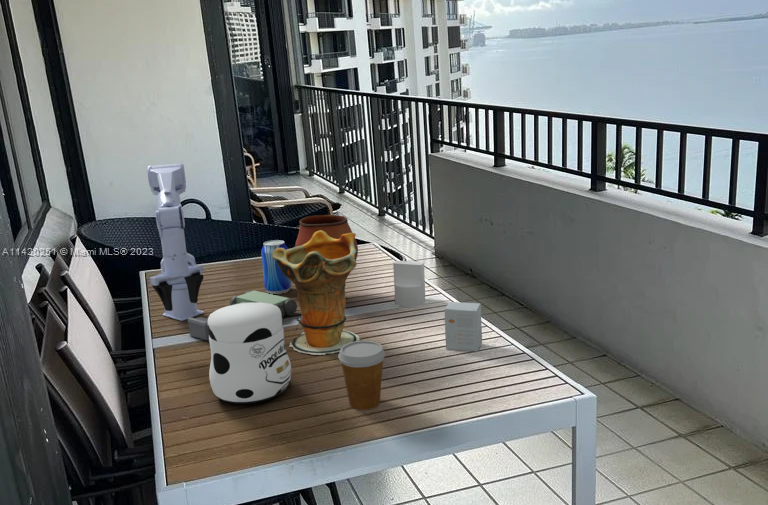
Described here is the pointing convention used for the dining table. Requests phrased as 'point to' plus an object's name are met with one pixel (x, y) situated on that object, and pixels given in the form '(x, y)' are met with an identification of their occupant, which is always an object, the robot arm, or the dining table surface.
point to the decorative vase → (320, 290)
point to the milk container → (248, 353)
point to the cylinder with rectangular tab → (409, 283)
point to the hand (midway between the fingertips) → (181, 306)
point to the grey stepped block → (198, 327)
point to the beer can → (273, 269)
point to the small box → (463, 326)
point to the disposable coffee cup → (362, 373)
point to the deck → (266, 301)
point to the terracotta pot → (323, 228)
